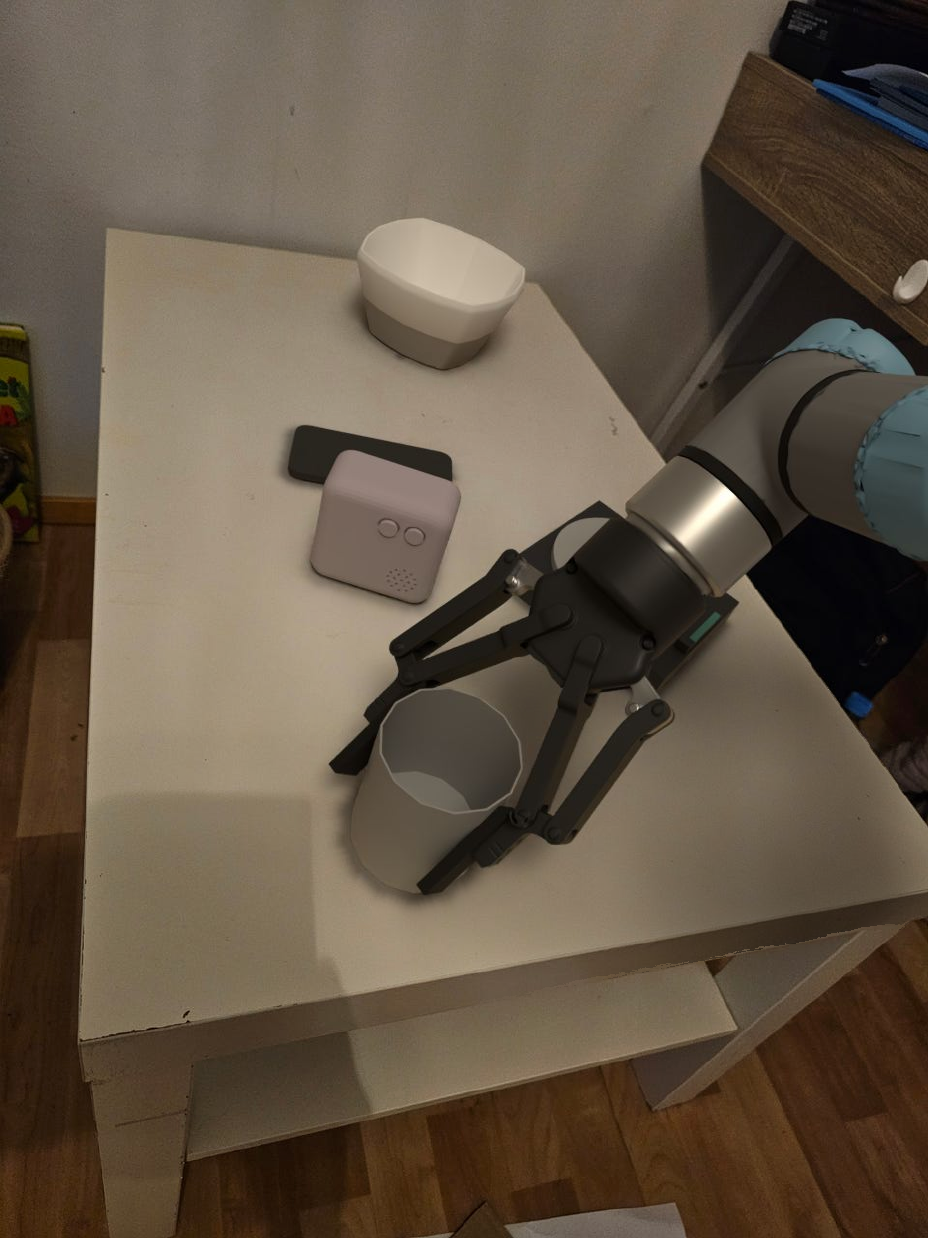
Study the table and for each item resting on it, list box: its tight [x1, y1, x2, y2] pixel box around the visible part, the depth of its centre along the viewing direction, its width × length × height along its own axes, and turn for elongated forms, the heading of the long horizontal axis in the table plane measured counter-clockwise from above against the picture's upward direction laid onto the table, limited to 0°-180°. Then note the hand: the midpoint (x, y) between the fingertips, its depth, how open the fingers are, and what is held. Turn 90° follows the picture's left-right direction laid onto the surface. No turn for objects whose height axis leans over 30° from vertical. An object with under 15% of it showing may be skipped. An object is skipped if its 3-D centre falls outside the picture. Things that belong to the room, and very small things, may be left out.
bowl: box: [356, 217, 527, 370], centre depth 93 cm, size 18×18×9 cm
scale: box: [518, 499, 740, 693], centre depth 73 cm, size 16×14×4 cm
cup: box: [350, 687, 524, 895], centre depth 50 cm, size 8×8×10 cm
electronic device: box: [310, 450, 462, 604], centre depth 65 cm, size 10×5×10 cm, turn 80°
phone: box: [287, 424, 453, 484], centre depth 77 cm, size 7×1×15 cm
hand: (384, 827), depth 49 cm, fingers closed on cup, 8 cm apart
